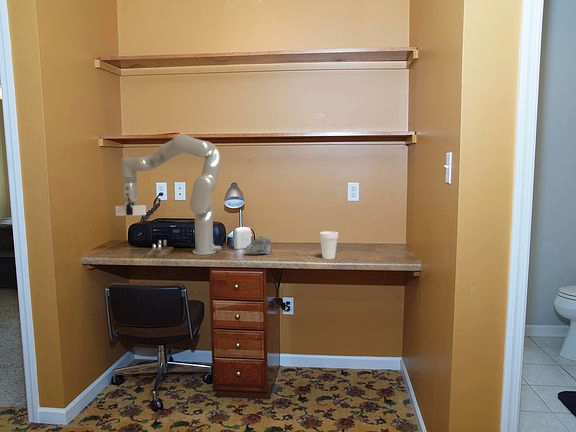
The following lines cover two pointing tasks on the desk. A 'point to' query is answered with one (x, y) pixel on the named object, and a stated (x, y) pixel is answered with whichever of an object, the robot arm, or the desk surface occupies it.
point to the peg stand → (159, 250)
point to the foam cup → (328, 244)
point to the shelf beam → (136, 210)
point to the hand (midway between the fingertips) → (131, 213)
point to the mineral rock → (260, 246)
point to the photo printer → (242, 237)
